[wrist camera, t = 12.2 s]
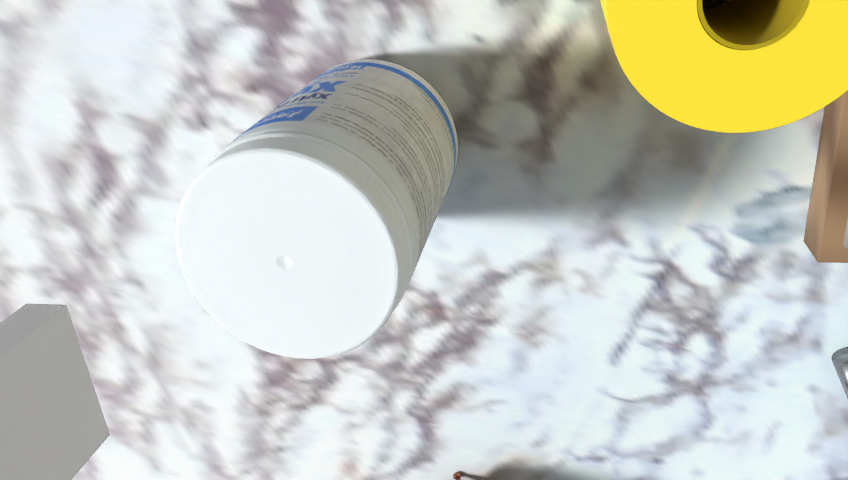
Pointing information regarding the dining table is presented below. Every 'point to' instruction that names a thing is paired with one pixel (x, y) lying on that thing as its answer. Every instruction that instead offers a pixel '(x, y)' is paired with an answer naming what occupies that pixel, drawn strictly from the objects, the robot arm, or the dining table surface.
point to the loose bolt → (842, 366)
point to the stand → (830, 188)
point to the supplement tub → (320, 211)
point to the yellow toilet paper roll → (733, 58)
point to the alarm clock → (457, 476)
